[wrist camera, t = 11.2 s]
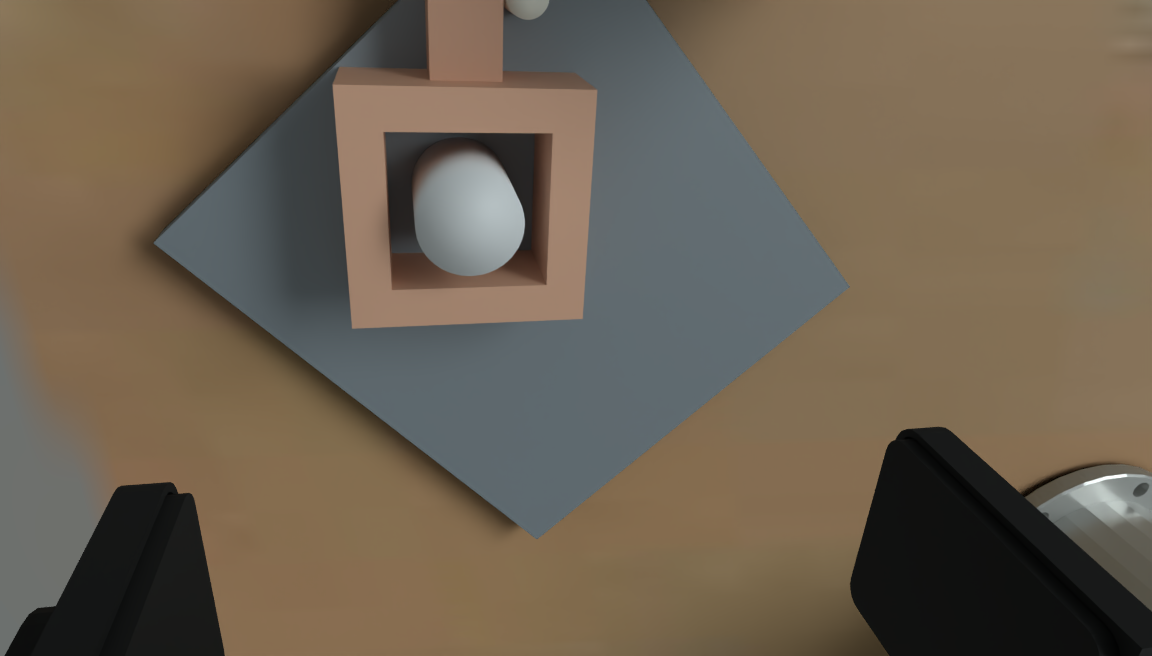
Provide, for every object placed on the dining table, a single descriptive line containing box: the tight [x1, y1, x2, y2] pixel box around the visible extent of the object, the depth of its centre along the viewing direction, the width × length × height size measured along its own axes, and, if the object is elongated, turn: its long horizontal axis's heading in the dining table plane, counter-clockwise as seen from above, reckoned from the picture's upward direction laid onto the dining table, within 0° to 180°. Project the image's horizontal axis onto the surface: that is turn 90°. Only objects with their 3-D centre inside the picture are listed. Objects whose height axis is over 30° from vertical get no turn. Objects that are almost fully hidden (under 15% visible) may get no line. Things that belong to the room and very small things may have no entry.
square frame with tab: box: [333, 0, 597, 329], centre depth 23 cm, size 10×7×3 cm
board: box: [154, 0, 850, 539], centre depth 26 cm, size 18×16×5 cm
